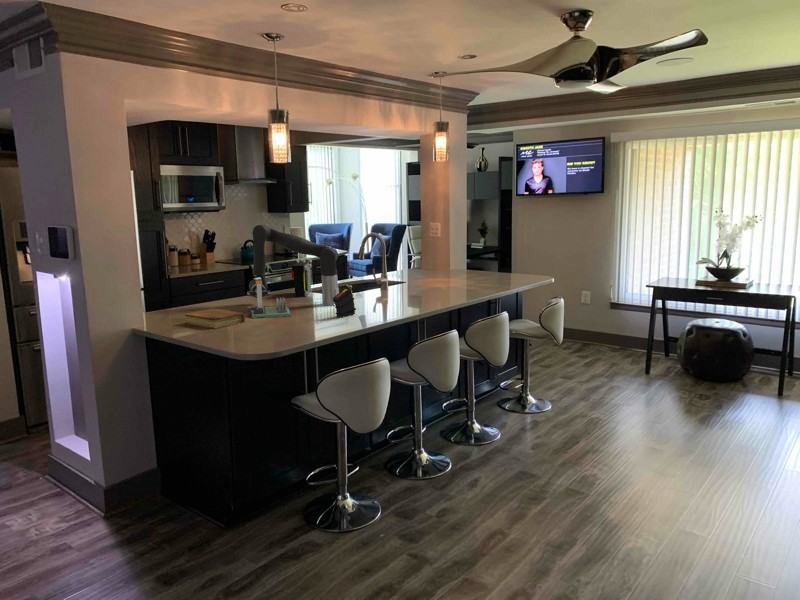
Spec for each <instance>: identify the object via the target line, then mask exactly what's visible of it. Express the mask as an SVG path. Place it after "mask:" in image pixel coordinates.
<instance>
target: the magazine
mask: <svg viewBox="0 0 800 600" xmlns="http://www.w3.org/2000/svg"><path fill="white" fill-rule="evenodd" d="M352 291H353V290H352V289H351V288H350V287H349V286H348V287H345V288H343V289H342V290H341V291H339V293H338V294H337V295H336V296H335V297H333V302H335V305H334V308H335V310H336V312H335V315H336V317H337V318H340V317H341V318H344V317H343V316H346V317H349V316H348V315H351V316H354V315H353V314H355V315H356V310H357V308H356V306H355V297H354V296H353V293H352Z"/></svg>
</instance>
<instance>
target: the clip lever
mask: <svg viewBox="0 0 800 600" xmlns="http://www.w3.org/2000/svg"><path fill="white" fill-rule="evenodd" d="M255 280H256V284H257V298H256V299H257V300H256V301H257V308H258V309H263V313H264V308H263V297H262V288H261V284H262V279H255ZM253 313H254V310H253Z"/></svg>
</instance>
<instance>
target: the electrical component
mask: <svg viewBox="0 0 800 600" xmlns="http://www.w3.org/2000/svg"><path fill="white" fill-rule="evenodd" d="M311 268H312V264H311V263H310V262H308V261H307V262H305V261H304V262H303V261H302V262H301V261H300V262H296V263H295V262H294V264H292V265H291V272H290V274H291V278H292V279H293V283H294V298H306V297H307V296H309V294H310V293H311V292H313V289H312V285H311V284H312V283H311V282H312V281H311V280H312V279H311V276H312V275H311Z"/></svg>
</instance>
